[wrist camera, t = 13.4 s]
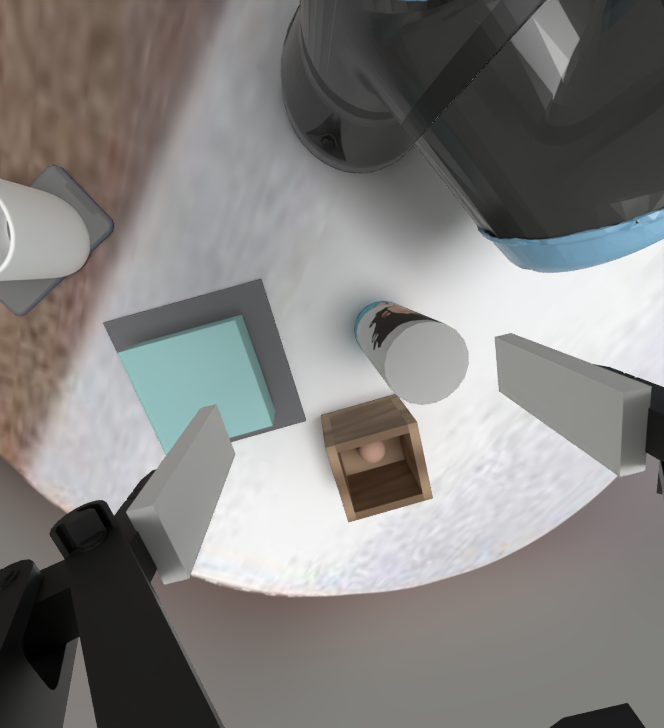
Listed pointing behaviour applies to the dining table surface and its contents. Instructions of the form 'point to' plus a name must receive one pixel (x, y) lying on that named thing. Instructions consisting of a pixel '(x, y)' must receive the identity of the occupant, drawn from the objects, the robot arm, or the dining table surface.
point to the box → (389, 475)
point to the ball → (372, 452)
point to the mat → (215, 308)
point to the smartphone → (99, 225)
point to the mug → (39, 235)
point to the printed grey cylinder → (412, 352)
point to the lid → (200, 379)
